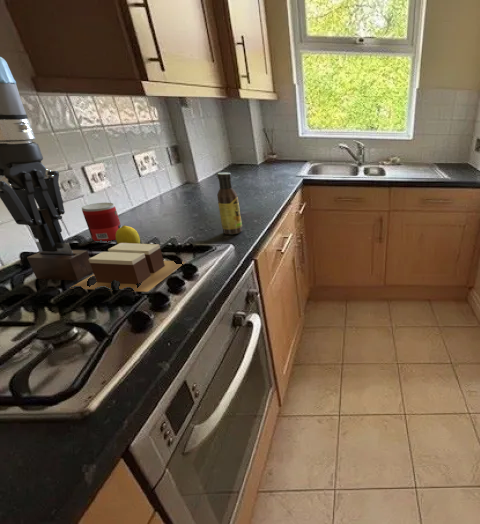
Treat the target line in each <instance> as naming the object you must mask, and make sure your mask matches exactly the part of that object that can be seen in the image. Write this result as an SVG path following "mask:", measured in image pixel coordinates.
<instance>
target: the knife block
mask: <svg viewBox="0 0 480 524" xmlns="http://www.w3.org/2000/svg"><path fill="white" fill-rule="evenodd" d="M71 250H72V253H73V255H74V256H67V255H44V254H40V252H39V251H38V252H37V253H34V254H32V255H29V256H27V257H26V259H27V261H28V263H29V265H30V268H31V270H32V272H33V274H34V276H35V279H37V280H54V281H56V280H57V281H76V282H78V281H80V280H83V278H84V279H85V277H88V276H89V275H91V274H93V270H92V267H91V265H90V262H89V259H90V258H91V257H90V253H89V252H88V250H83V249H82V250H80V249H71Z"/></svg>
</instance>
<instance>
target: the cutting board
mask: <svg viewBox="0 0 480 524" xmlns="http://www.w3.org/2000/svg"><path fill="white" fill-rule="evenodd" d="M174 261H175V260H164V264H165V266H164V267H162V268H161V269H160V270H158V271H157V272H155V273H150V275H151V276H150V277H148V278H147V279H146V280H144V281H143V282H142V283H141V285H140V286H139V287H138V288H137V285H136V284H121V283H120V286H119V289H123V288H126V287H131V288H133V289H134V291H133V292H141V293H142V292H143V293H149V291H151V290H152V289H153V288H155V287H156V286H157V285H158V284H160V283H161V282H163V281H164V280H165V279H166V278H168V277H169V276H170V275H171V274H173V273H174V272H175V271H177V270H178V269H179V268H180V267H182V266H183V265H184V264H185V263H187V261H182V264H183V265H182V264H176V263H175V262H174ZM92 276H94V273H92V275H91V274H90V276H87V277H86V278H84V279H81V281H79V282H77V283H76V284H73V285H71V287H74V286H81V287H82V288H83V289H82V290H95V288H97V287H100V286H106V287H108V288H110V289H111V283H100V282H96V283H95V284H94V285H91V286H90V287H89V286H87V281H88V279H89V278H90V277H92ZM71 287H69V289H72V288H71Z"/></svg>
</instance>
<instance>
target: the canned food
mask: <svg viewBox="0 0 480 524" xmlns="http://www.w3.org/2000/svg"><path fill="white" fill-rule="evenodd" d="M81 211H82V215H83V217H84V220H85V224H86V226H87V228H88V231H89V234H90V236H91V240H92V239H93V240H94V241H100V240H102V241H107V242H108V241H111V240H115V241H116V232H117V230H118V229H119V228H121V227H122V224H121V221H120V218H119V215H118V212H117V208H116V205H115V203H113V202H96V203H90V204H86V205H83V206H82V207H81ZM93 240H92V241H93ZM94 241H93V242H94Z"/></svg>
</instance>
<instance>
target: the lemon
mask: <svg viewBox="0 0 480 524" xmlns="http://www.w3.org/2000/svg"><path fill="white" fill-rule="evenodd" d="M115 241H116V244H119V243H137V244H141V238H140V234H139V232H138V231H137V229H135V228H134V227H131V226H130V225H129V226H127V225H125V224H124V225H121V228H119V229H118V230H117V232H116V240H115Z"/></svg>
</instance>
